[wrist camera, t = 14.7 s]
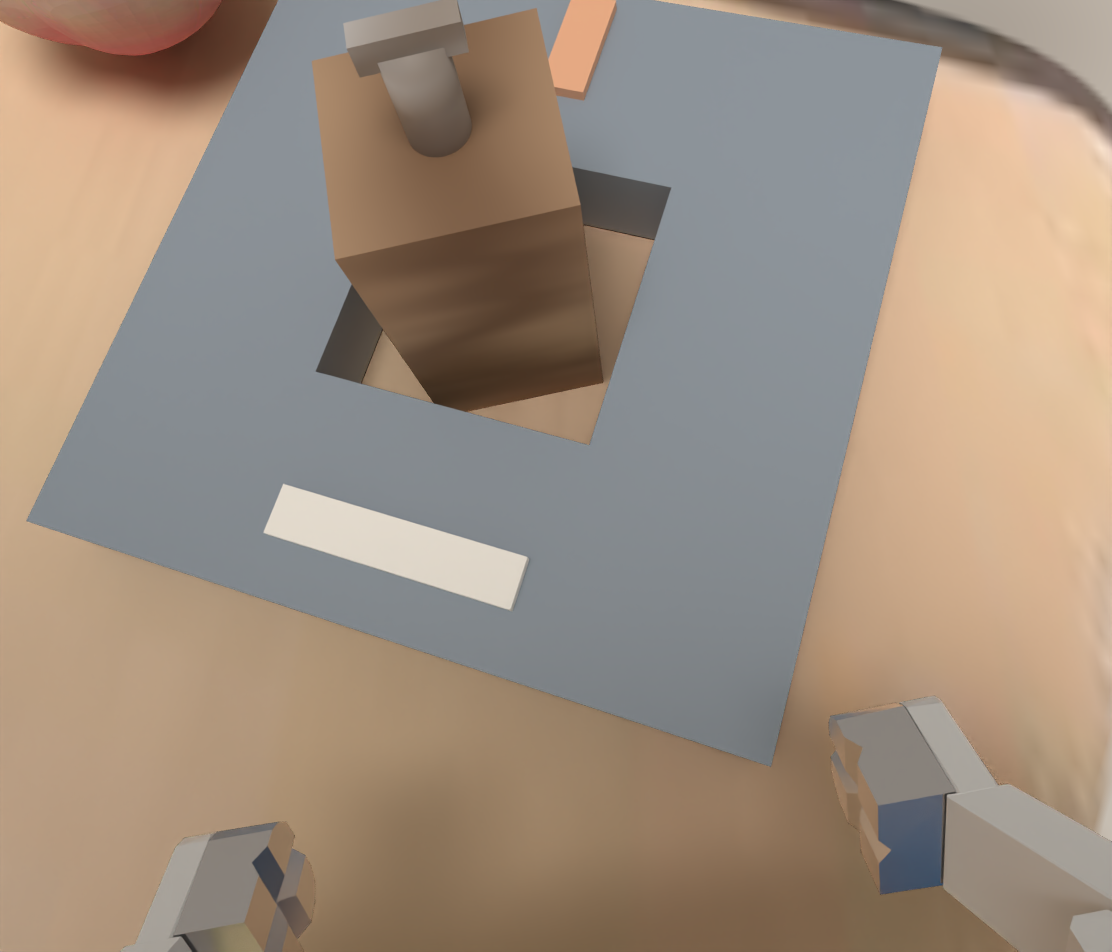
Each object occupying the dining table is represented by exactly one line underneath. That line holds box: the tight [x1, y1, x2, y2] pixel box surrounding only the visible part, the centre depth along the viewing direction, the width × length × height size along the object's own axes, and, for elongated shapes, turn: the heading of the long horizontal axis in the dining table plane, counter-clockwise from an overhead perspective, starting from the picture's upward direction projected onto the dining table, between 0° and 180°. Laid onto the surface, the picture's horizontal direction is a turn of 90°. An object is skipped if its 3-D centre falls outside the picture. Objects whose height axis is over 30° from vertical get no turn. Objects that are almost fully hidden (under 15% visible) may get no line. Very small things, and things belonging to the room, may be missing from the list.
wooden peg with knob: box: [312, 0, 603, 412], centre depth 17 cm, size 4×4×10 cm
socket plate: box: [27, 0, 942, 767], centre depth 21 cm, size 18×18×3 cm
